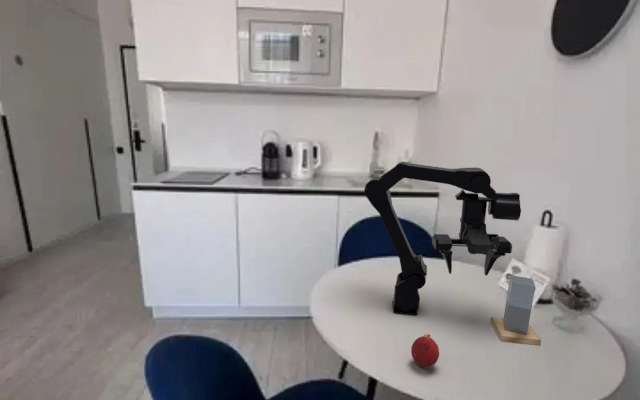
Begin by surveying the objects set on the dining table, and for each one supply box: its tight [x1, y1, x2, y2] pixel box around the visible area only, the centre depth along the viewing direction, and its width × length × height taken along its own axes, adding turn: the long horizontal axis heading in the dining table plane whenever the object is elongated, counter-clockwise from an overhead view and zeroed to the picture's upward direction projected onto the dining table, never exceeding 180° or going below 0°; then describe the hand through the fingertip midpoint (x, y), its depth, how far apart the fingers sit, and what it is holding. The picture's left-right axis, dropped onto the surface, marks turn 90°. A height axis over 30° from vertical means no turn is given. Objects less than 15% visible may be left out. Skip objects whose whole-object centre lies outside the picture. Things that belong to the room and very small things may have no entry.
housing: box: [502, 274, 536, 335], centre depth 93 cm, size 5×5×13 cm
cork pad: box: [489, 316, 542, 346], centre depth 95 cm, size 9×9×2 cm
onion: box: [410, 332, 440, 368], centre depth 80 cm, size 6×6×8 cm
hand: (467, 274), depth 98 cm, fingers open, 9 cm apart
